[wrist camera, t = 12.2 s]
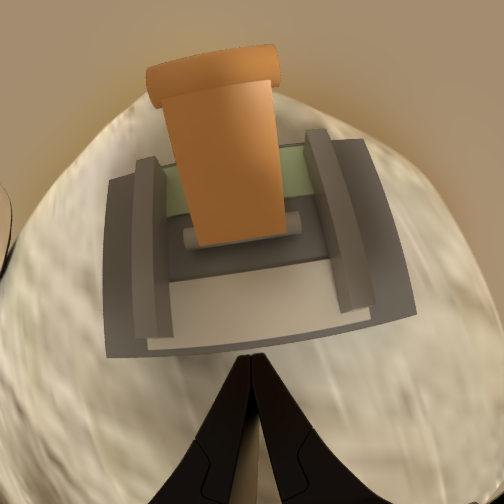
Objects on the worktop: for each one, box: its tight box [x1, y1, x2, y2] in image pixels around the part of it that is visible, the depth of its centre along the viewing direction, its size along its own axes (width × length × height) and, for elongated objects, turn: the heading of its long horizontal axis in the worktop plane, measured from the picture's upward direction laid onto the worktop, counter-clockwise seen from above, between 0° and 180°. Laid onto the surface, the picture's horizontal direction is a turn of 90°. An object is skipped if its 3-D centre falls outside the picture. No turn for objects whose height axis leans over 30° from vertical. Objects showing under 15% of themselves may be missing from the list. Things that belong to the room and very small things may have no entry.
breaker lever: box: [146, 44, 302, 251], centre depth 12 cm, size 2×6×10 cm
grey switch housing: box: [103, 129, 417, 358], centre depth 17 cm, size 12×18×7 cm, turn 98°
